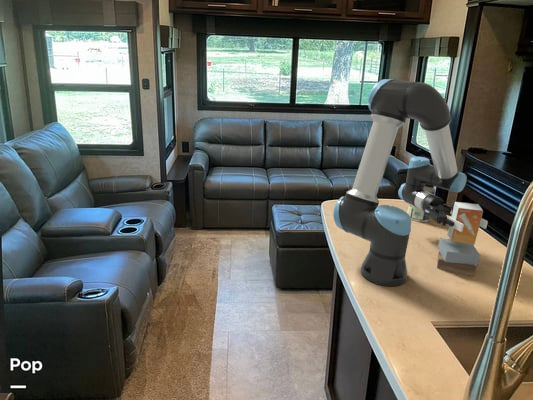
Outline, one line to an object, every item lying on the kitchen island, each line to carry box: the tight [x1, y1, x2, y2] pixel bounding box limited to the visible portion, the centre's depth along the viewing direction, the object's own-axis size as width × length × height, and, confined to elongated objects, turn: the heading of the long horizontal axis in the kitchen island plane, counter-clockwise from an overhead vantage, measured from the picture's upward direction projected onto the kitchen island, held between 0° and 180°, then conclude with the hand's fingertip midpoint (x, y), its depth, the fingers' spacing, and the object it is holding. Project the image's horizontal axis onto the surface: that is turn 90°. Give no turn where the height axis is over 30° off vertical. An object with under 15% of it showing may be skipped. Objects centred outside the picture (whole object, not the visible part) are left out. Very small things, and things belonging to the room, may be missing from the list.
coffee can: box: [406, 185, 436, 223], centre depth 192 cm, size 10×10×14 cm
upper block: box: [437, 238, 481, 266], centre depth 151 cm, size 11×11×4 cm
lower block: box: [436, 250, 477, 277], centre depth 152 cm, size 12×12×4 cm
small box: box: [447, 201, 484, 246], centre depth 147 cm, size 8×6×13 cm
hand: (474, 226), depth 143 cm, fingers closed on small box, 10 cm apart
